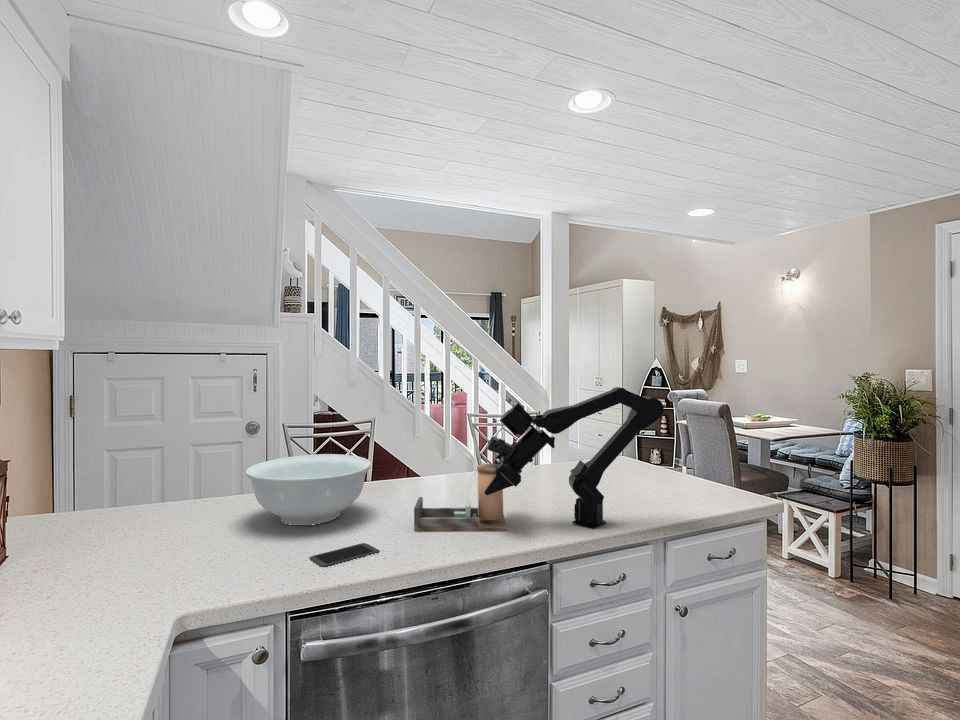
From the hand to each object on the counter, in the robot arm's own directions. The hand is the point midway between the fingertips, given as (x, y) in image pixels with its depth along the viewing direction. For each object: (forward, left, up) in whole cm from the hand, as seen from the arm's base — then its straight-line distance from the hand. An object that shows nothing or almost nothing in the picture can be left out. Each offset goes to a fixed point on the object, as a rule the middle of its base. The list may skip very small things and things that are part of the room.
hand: (485, 490), depth 141 cm
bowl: (+40, +27, -9) cm, 49 cm away
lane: (+5, +4, -9) cm, 11 cm away
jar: (-1, -1, -7) cm, 7 cm away
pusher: (+4, +4, -8) cm, 10 cm away
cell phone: (+9, +37, -9) cm, 39 cm away
